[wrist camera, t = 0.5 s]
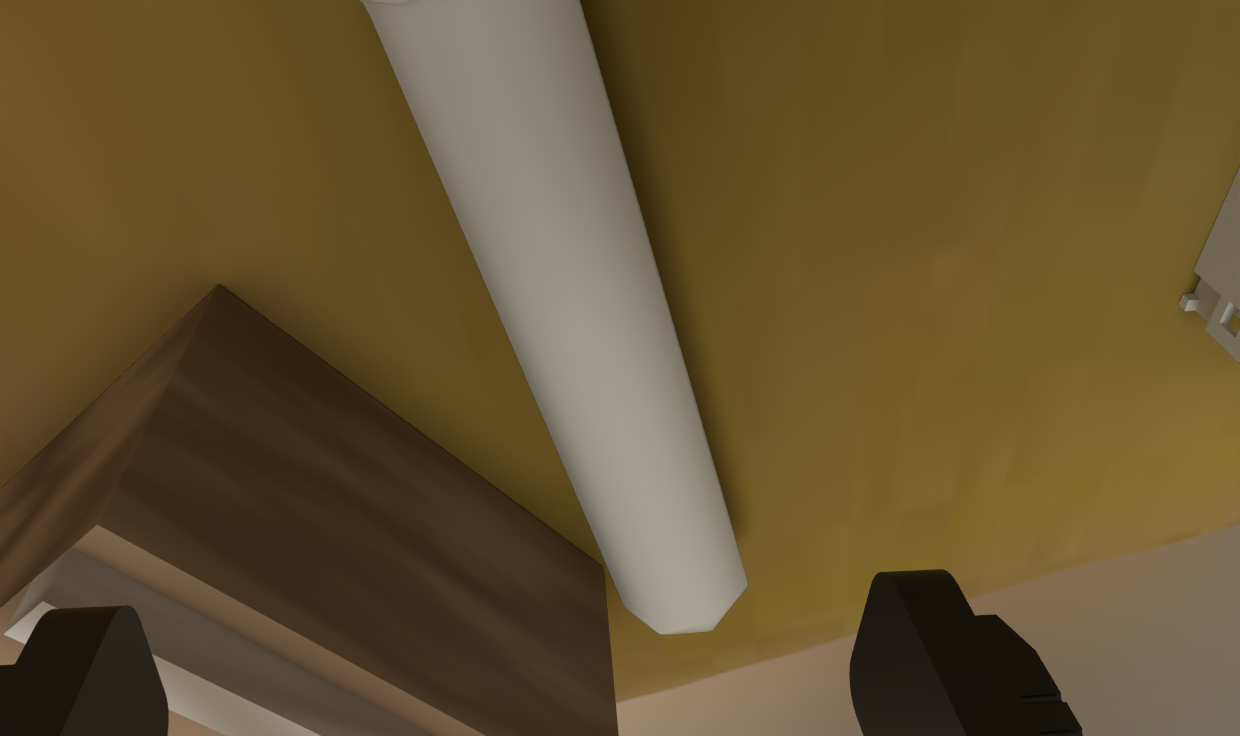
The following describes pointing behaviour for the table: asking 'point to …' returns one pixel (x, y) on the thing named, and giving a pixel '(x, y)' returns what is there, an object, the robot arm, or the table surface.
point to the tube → (573, 284)
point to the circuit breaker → (1220, 275)
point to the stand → (302, 553)
